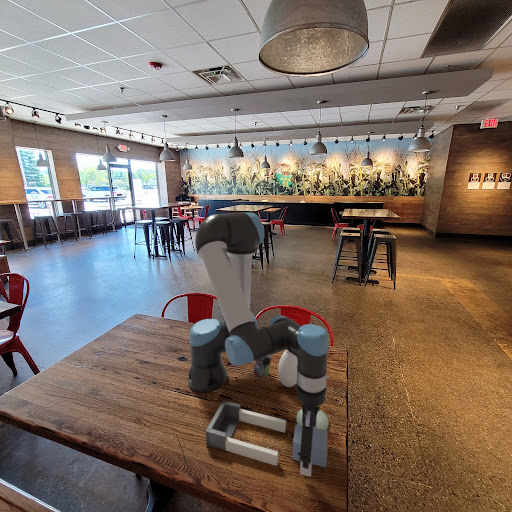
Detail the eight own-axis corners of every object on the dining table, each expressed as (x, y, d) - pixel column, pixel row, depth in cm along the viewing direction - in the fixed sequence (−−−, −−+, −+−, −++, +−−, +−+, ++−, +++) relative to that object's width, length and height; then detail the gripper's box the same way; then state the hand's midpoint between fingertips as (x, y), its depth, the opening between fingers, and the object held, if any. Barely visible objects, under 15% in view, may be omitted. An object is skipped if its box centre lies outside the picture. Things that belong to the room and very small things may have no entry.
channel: (225, 450, 76) (225, 440, 75) (240, 417, 87) (240, 408, 86) (276, 466, 72) (277, 455, 71) (285, 429, 83) (286, 420, 82)
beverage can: (253, 369, 111) (252, 343, 108) (270, 368, 111) (271, 342, 108) (254, 380, 105) (254, 353, 102) (273, 379, 105) (273, 352, 102)
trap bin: (206, 445, 78) (205, 431, 77) (223, 412, 89) (223, 400, 88) (225, 450, 76) (224, 436, 75) (240, 417, 87) (240, 404, 86)
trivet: (294, 430, 83) (294, 428, 82) (299, 406, 92) (299, 404, 92) (327, 438, 80) (327, 436, 79) (329, 412, 89) (329, 410, 89)
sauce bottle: (301, 381, 104) (302, 339, 99) (295, 395, 97) (296, 350, 93) (282, 375, 107) (282, 335, 103) (275, 388, 100) (275, 345, 96)
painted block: (292, 459, 74) (293, 442, 72) (295, 440, 79) (295, 423, 78) (326, 467, 71) (327, 449, 70) (326, 447, 77) (327, 430, 76)
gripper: (322, 426, 57) (318, 502, 62) (328, 358, 80) (325, 418, 85) (287, 417, 59) (286, 492, 64) (303, 354, 82) (301, 412, 87)
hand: (308, 450), depth 74 cm, fingers open, 13 cm apart
